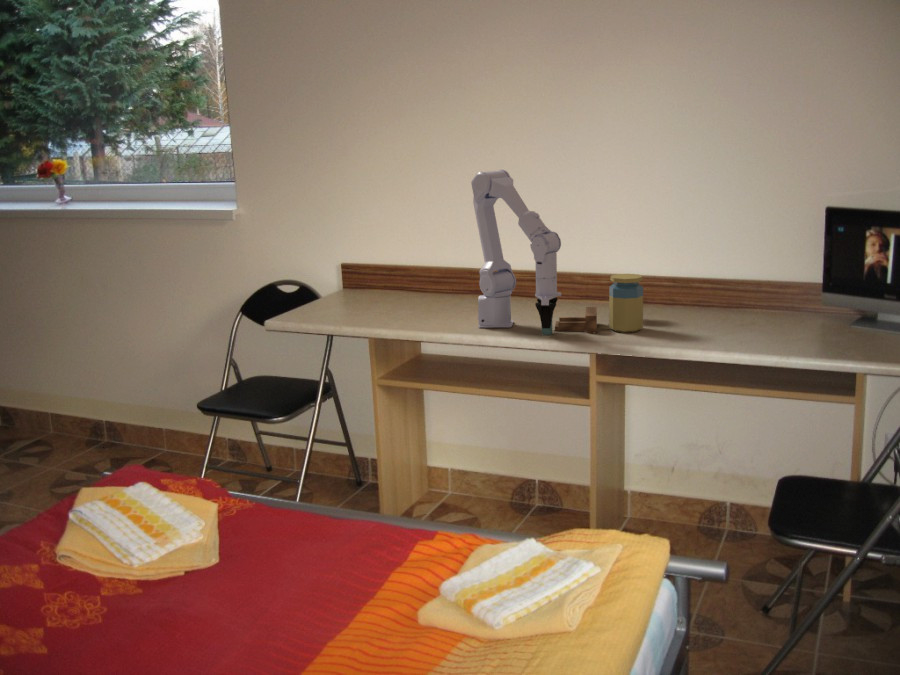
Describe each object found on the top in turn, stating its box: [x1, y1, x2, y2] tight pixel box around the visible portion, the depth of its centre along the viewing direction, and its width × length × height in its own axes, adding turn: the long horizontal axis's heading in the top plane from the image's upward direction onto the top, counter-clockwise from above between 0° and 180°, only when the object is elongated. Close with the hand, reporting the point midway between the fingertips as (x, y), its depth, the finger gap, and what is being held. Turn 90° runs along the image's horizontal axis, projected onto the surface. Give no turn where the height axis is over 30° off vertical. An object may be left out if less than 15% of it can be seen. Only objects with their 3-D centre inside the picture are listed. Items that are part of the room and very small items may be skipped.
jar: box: [608, 273, 644, 334], centre depth 257 cm, size 9×9×15 cm
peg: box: [541, 303, 553, 336], centre depth 256 cm, size 3×3×8 cm
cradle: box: [554, 306, 598, 334], centre depth 262 cm, size 12×12×5 cm
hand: (546, 326), depth 257 cm, fingers open, 5 cm apart
